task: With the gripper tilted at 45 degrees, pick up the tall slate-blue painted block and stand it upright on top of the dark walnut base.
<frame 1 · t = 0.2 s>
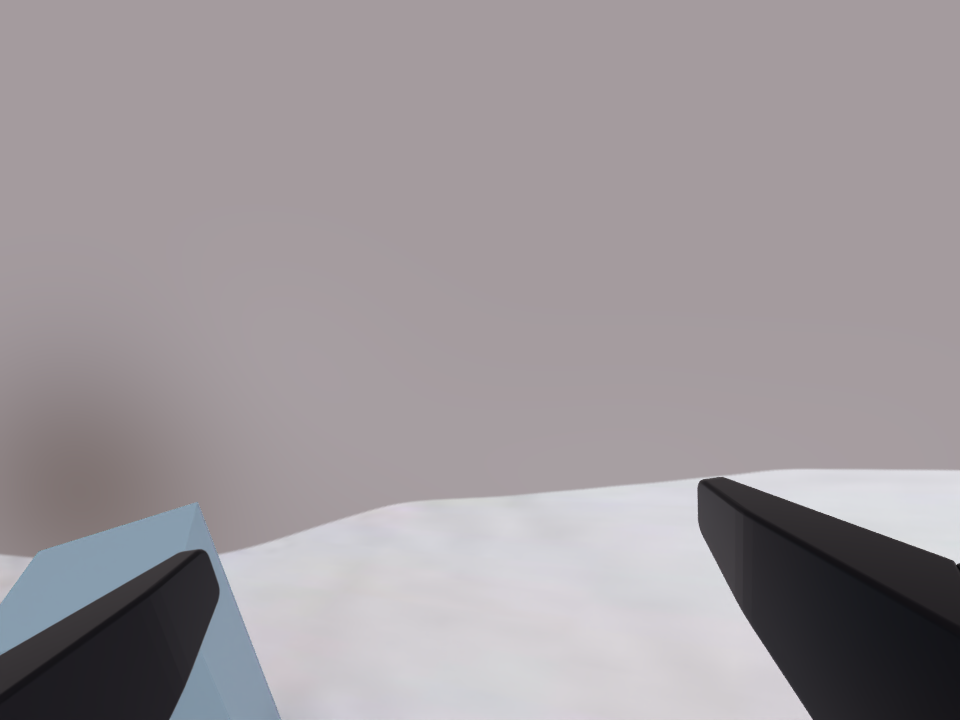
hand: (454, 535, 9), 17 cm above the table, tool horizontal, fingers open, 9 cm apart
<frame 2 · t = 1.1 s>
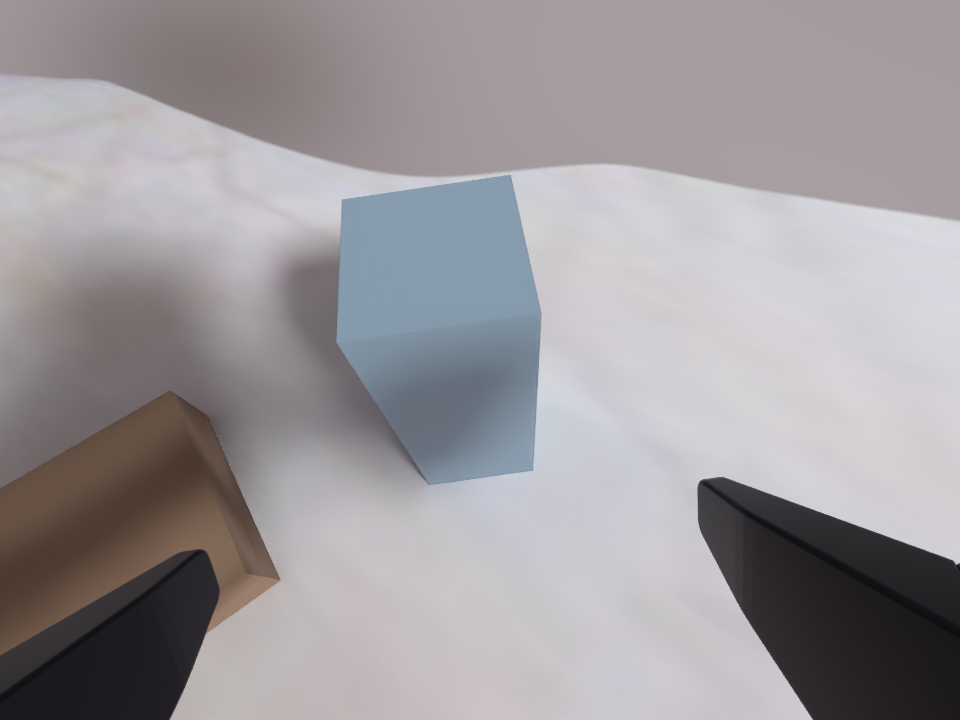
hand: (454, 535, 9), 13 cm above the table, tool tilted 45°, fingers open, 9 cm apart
blue block: (475, 428, 24), on the table
walnut base: (140, 554, 22), on the table
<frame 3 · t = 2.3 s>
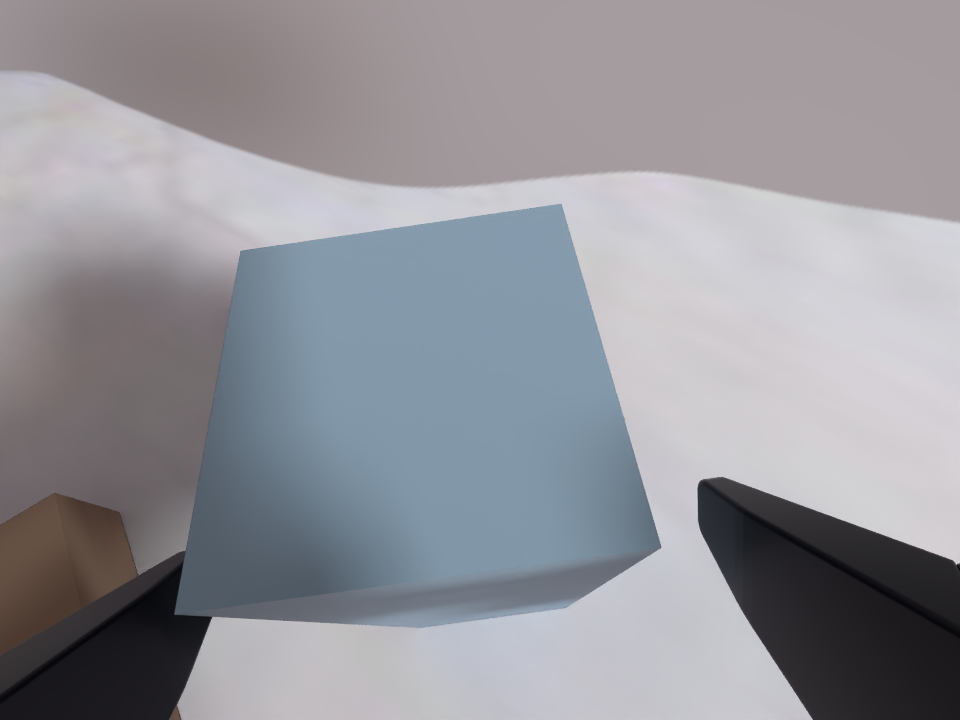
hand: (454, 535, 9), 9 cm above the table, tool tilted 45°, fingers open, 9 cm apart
blue block: (483, 540, 17), on the table
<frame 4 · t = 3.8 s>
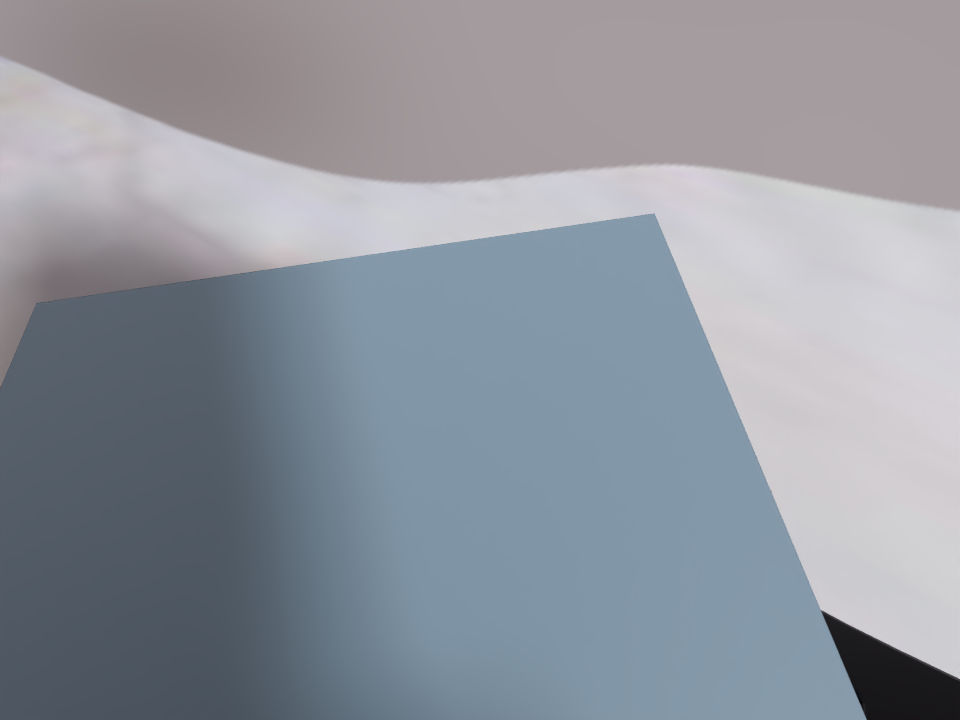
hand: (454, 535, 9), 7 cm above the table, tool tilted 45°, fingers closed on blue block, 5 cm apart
blue block: (488, 625, 14), on the table, touching gripper
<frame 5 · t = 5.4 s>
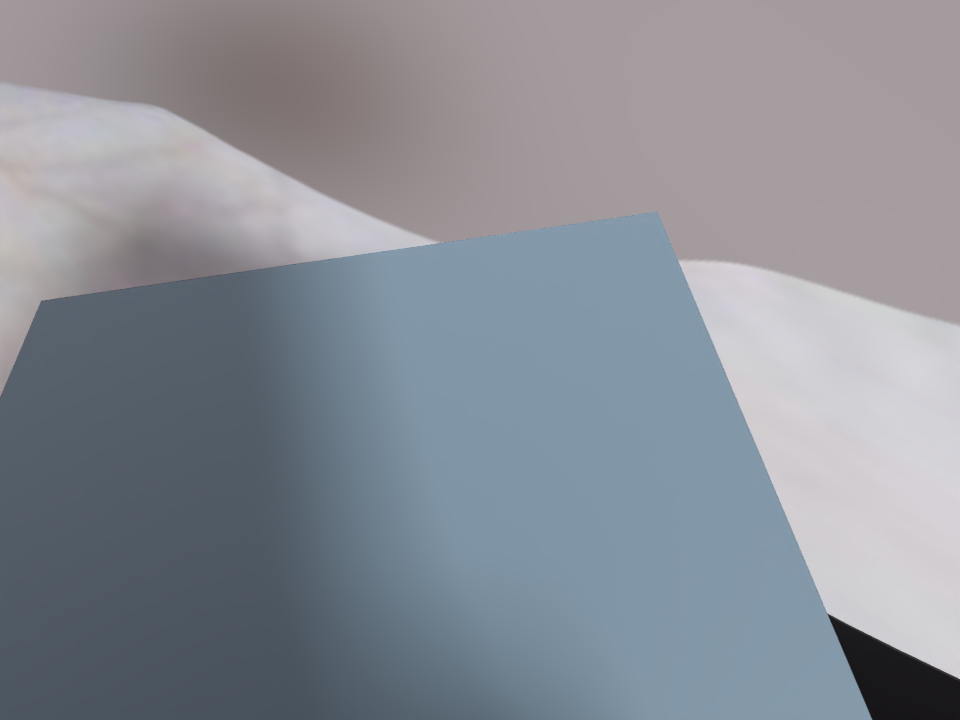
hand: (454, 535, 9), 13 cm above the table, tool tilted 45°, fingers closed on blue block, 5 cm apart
blue block: (489, 624, 14), point 7 cm above the table, touching gripper
when the fingers open (11 cm above the table, at t = 7.2 s): blue block drops 1 cm, resting on walnut base.
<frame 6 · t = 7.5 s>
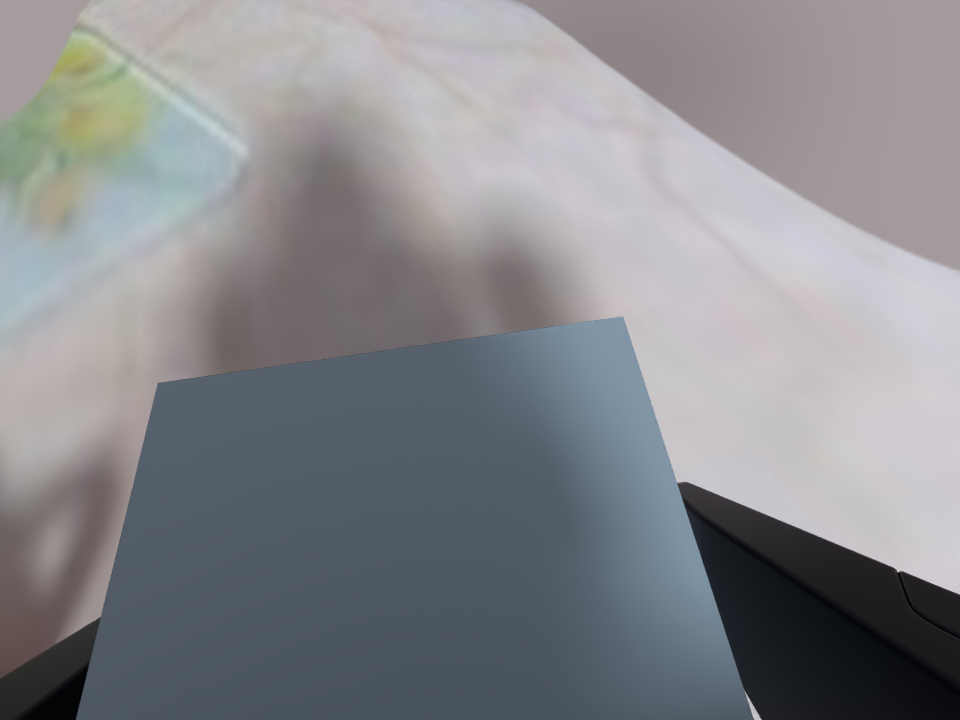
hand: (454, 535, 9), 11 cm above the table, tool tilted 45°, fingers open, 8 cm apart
blue block: (491, 624, 15), point 3 cm above the table, touching walnut base
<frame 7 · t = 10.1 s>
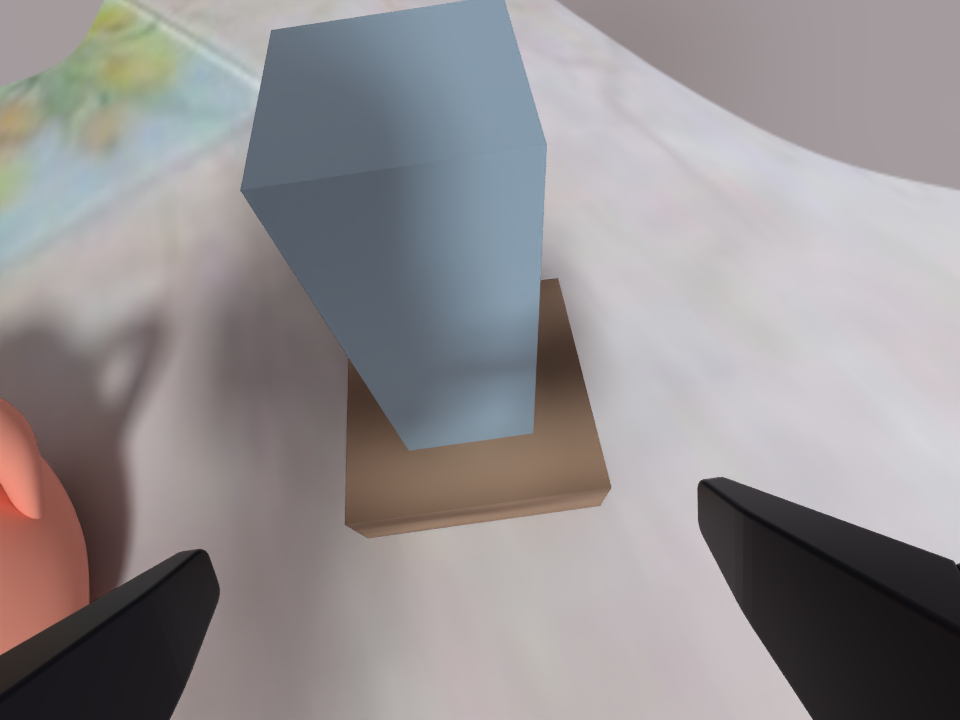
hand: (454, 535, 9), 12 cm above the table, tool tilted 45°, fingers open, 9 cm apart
blue block: (464, 386, 20), point 3 cm above the table, touching walnut base
walnut base: (470, 414, 23), on the table
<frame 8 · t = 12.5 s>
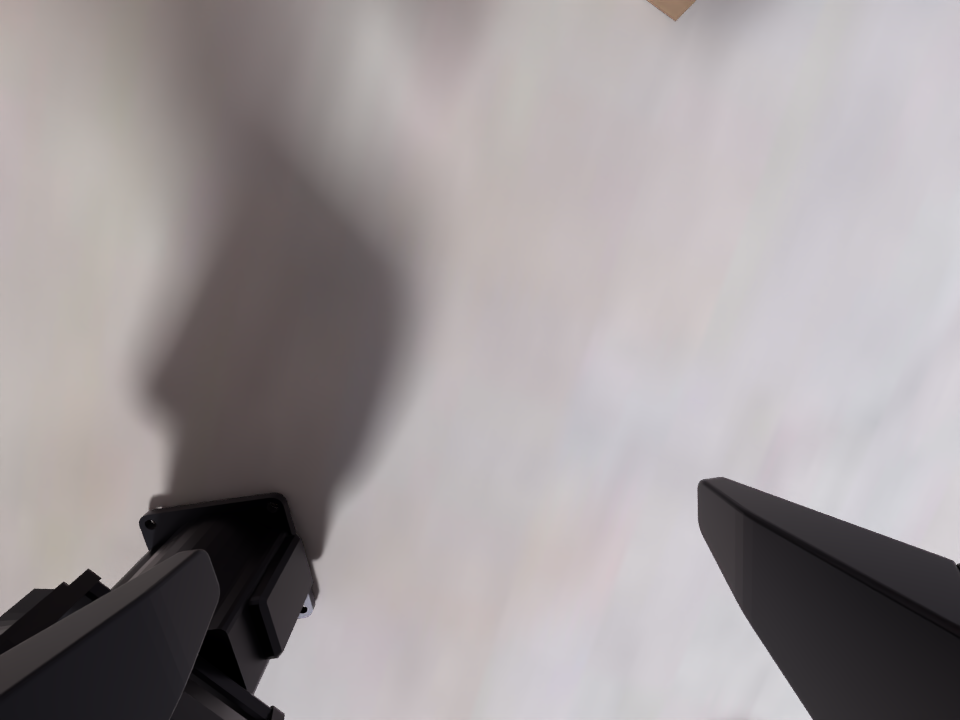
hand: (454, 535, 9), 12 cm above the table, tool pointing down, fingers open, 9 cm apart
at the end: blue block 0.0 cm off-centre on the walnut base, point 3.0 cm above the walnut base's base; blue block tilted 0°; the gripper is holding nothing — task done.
